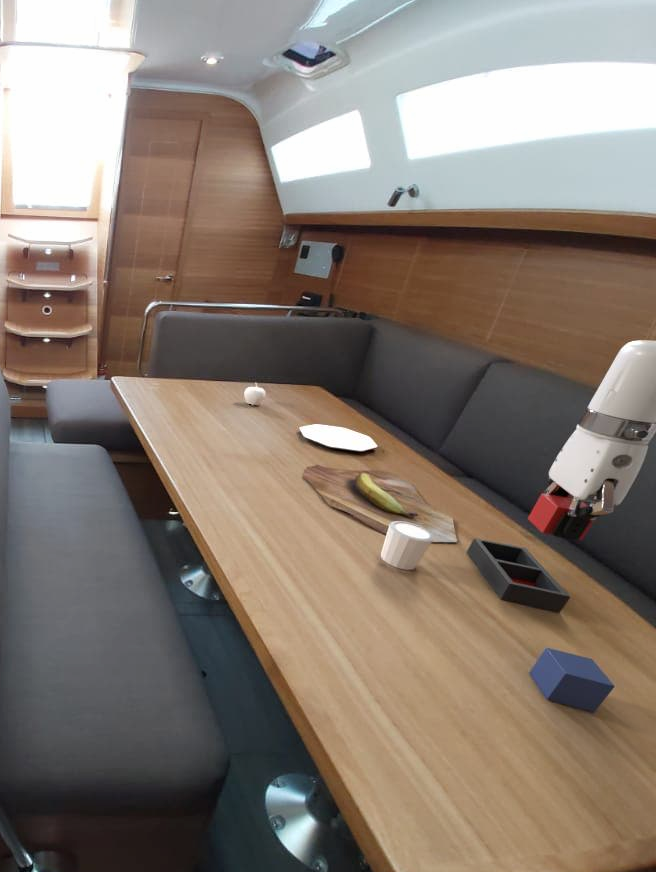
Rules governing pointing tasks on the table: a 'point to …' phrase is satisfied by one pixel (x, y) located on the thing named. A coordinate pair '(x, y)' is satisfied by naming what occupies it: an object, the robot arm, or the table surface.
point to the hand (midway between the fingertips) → (555, 527)
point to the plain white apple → (254, 395)
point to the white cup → (405, 544)
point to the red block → (552, 513)
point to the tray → (517, 575)
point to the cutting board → (379, 500)
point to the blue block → (571, 680)
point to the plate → (338, 437)
